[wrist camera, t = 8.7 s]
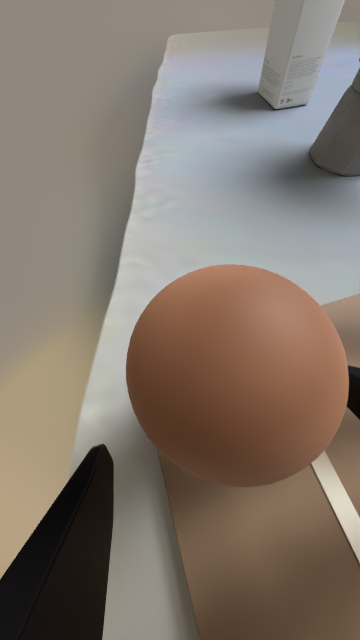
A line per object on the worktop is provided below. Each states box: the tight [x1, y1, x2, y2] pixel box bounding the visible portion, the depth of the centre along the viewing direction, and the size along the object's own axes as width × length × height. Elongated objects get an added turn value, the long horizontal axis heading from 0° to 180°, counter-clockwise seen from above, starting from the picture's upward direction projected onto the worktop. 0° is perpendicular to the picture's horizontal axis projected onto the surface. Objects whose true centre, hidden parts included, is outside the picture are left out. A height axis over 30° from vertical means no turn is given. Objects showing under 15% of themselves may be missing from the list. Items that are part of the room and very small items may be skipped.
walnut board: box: [157, 294, 360, 640], centre depth 14 cm, size 18×22×1 cm
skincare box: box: [258, 0, 345, 109], centre depth 30 cm, size 8×7×16 cm
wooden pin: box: [126, 265, 349, 487], centre depth 9 cm, size 5×5×14 cm
